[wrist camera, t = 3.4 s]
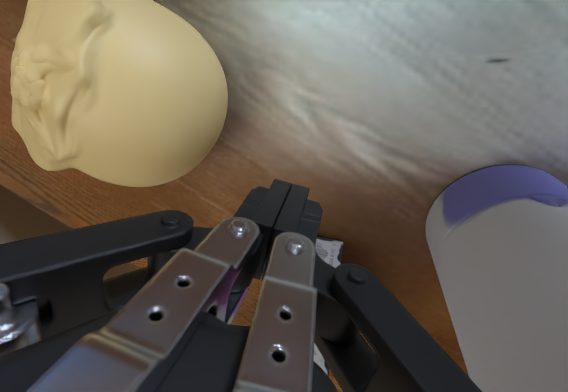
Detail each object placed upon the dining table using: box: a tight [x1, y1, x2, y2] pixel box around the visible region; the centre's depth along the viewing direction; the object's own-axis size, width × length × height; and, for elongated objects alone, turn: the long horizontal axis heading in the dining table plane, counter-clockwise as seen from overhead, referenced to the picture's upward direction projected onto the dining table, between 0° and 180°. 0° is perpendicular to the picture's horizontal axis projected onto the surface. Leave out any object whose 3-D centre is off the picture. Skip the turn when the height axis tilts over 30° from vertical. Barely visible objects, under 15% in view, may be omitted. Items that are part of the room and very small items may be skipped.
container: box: [425, 165, 568, 392], centre depth 16 cm, size 10×10×20 cm
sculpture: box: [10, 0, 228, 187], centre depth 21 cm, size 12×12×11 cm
